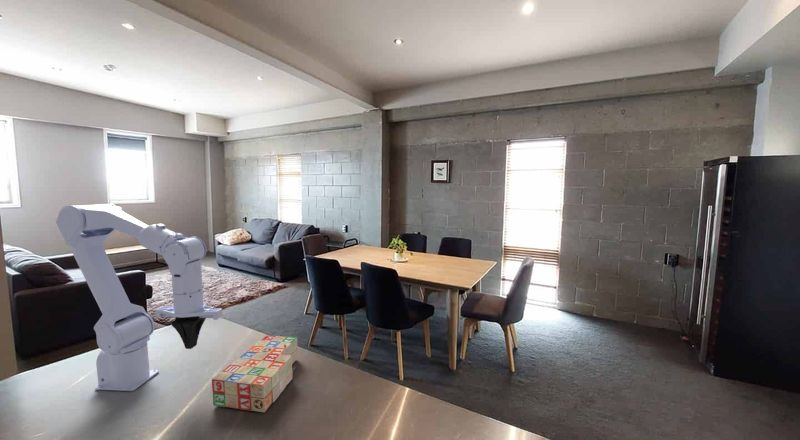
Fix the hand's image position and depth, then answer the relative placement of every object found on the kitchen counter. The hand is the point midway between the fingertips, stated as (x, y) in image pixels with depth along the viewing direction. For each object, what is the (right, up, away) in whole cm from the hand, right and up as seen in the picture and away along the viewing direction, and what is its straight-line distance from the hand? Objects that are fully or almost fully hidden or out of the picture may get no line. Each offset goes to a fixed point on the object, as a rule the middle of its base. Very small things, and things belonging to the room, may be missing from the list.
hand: (191, 346), depth 76 cm
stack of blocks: (+10, -6, +4) cm, 13 cm away
